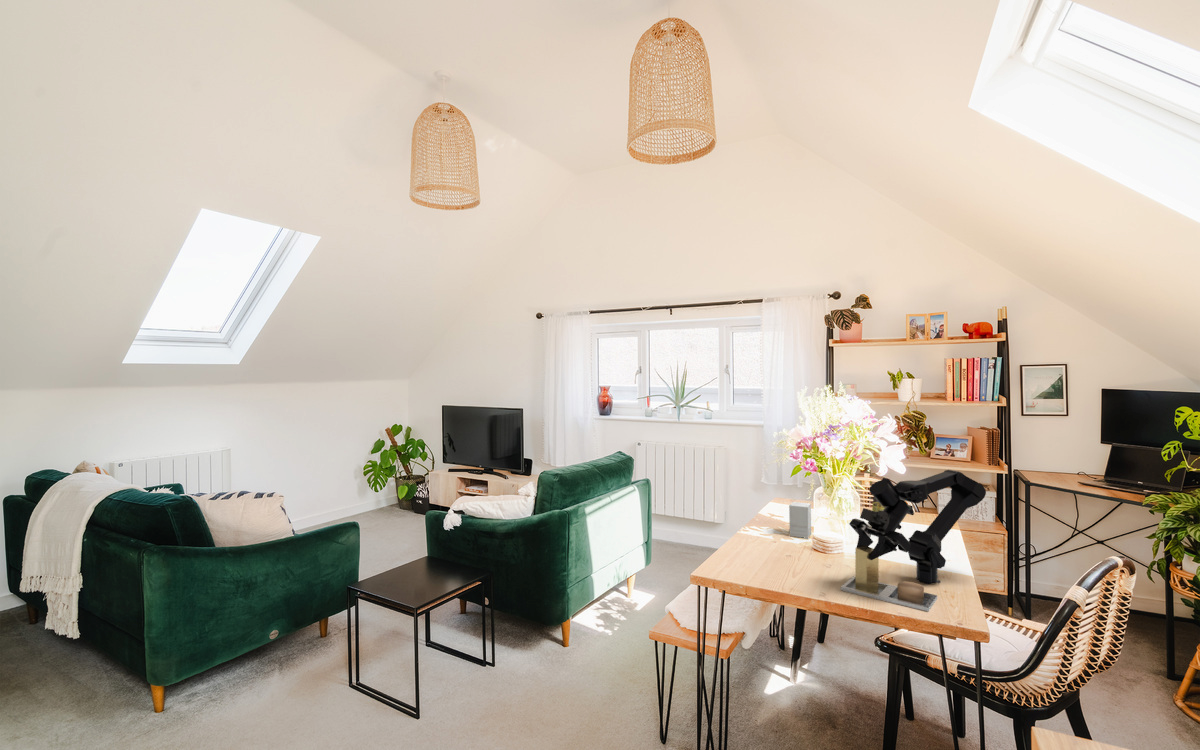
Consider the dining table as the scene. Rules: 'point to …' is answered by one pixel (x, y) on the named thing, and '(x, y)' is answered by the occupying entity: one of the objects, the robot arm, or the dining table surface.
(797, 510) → the supplement box
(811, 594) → the dining table surface
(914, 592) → the walnut puck
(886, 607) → the dining table surface
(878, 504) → the sauce bottle
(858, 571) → the block
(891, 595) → the tray
